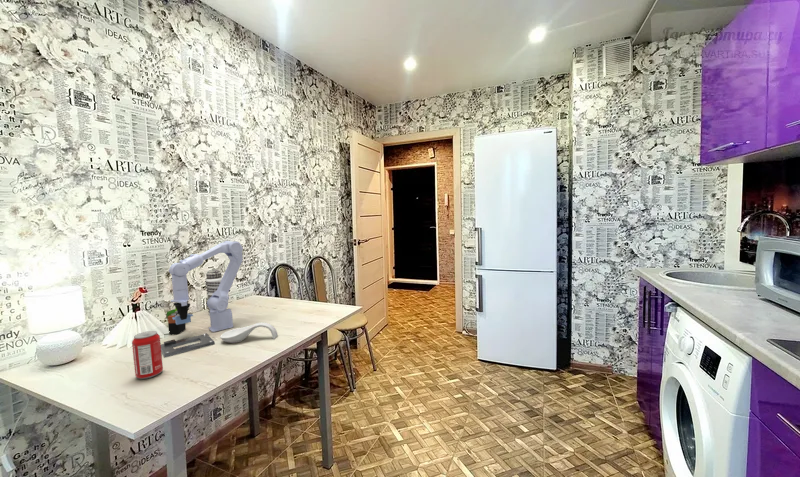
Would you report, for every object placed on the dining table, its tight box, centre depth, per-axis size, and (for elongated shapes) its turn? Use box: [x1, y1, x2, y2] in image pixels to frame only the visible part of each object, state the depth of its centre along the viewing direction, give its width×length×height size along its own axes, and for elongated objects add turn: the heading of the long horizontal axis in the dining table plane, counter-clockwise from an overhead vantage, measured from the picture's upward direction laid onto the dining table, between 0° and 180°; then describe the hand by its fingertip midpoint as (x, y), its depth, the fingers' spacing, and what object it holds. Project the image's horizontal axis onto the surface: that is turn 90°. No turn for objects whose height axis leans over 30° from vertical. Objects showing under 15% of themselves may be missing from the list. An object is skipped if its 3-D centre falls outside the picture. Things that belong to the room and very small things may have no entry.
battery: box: [167, 311, 187, 336], centre depth 161 cm, size 4×7×10 cm, turn 5°
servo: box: [172, 312, 194, 325], centre depth 152 cm, size 8×3×4 cm, turn 132°
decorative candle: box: [204, 269, 223, 316], centre depth 190 cm, size 9×9×25 cm
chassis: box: [161, 333, 215, 358], centre depth 143 cm, size 18×14×2 cm
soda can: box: [131, 330, 164, 380], centre depth 117 cm, size 8×8×15 cm
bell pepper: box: [166, 306, 177, 320], centre depth 172 cm, size 8×8×10 cm
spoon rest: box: [219, 322, 278, 344], centre depth 149 cm, size 24×12×7 cm, turn 96°
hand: (183, 318), depth 152 cm, fingers closed on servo, 3 cm apart
